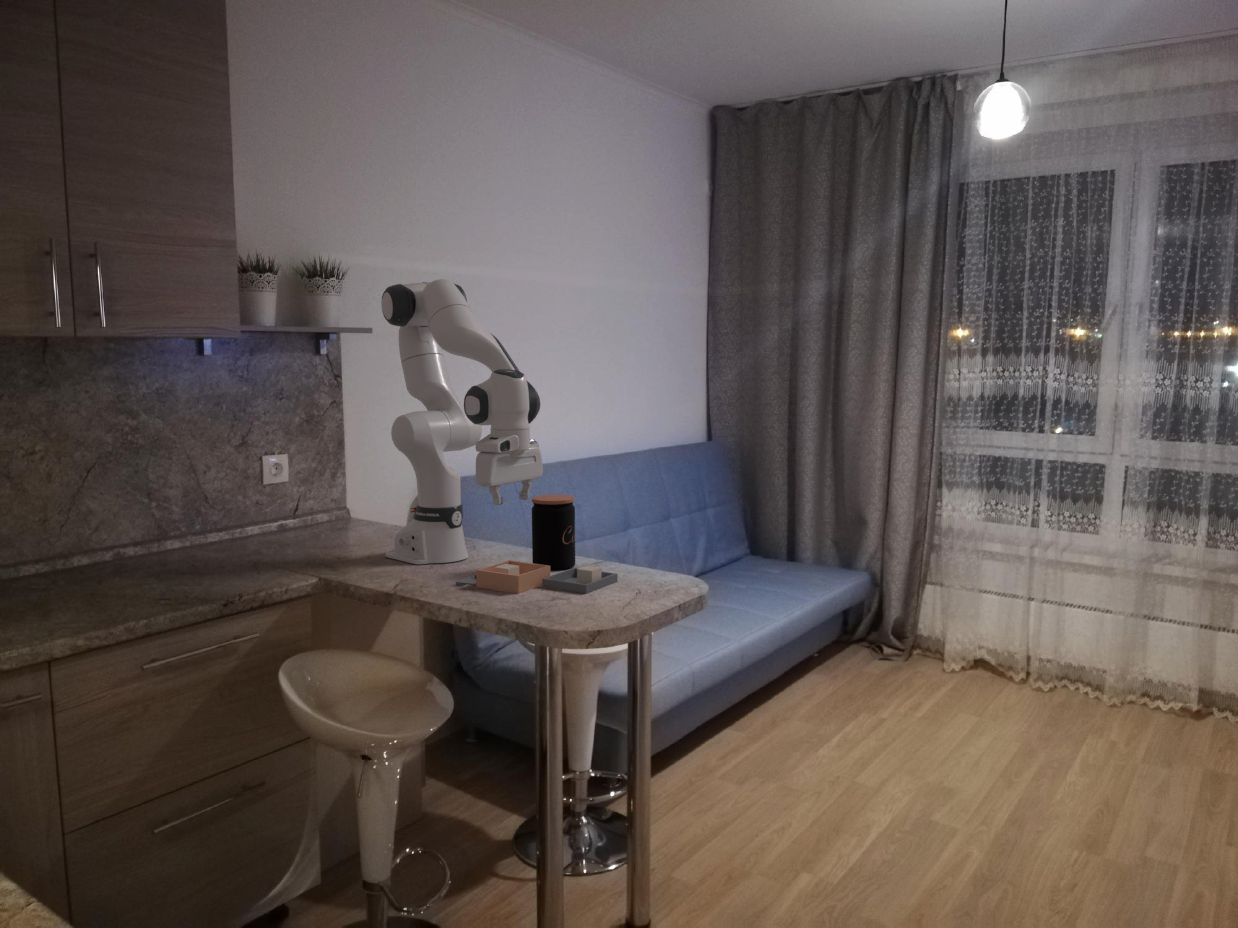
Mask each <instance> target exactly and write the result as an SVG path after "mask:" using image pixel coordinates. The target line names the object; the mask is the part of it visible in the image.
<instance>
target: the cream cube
mask: <svg viewBox="0 0 1238 928" xmlns="http://www.w3.org/2000/svg"><path fill="white" fill-rule="evenodd" d="M495 572H499V573H506V574H512V575H519V566H517V565H510V564H503V565H500V566H497V567H495Z"/></svg>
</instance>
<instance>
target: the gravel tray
mask: <svg viewBox="0 0 1238 928" xmlns="http://www.w3.org/2000/svg"><path fill="white" fill-rule="evenodd" d="M577 569H579V567H573V568H571V569H568V570H563V571H560V572H558V573H556V574H551V575H550V576H549V577H546V578H543V579H542V586H541V587H542V588H546V589H553V590H558V591H559V590H560V591H565V592H571V593H577V594H584V595H585V594H586V595H587V594H591V593H593V592H595V591H597V590H601V589H603V588H606V587H608V586H610V585H612V584H616V583H618V573H616V572H608V571H602V578H601V579H599V580H596V581H593V582H591V583H588V584H580V583H577Z"/></svg>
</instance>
